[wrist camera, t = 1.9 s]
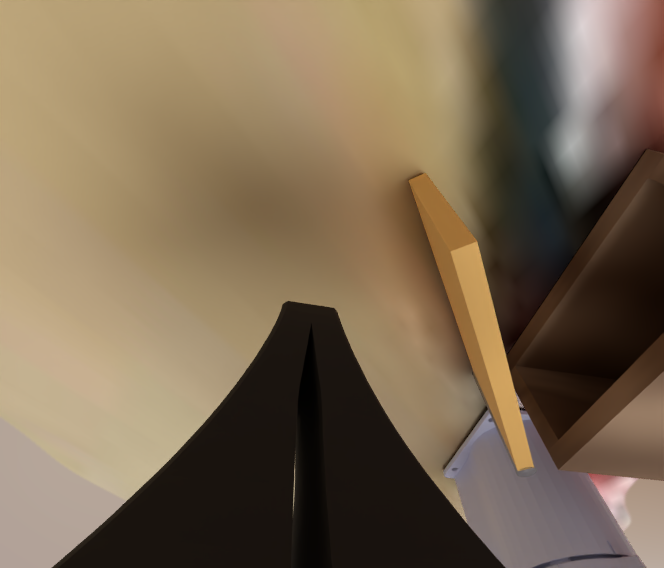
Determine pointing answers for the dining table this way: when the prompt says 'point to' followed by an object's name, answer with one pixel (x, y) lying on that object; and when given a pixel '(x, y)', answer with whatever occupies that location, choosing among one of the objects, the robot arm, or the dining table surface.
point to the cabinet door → (474, 316)
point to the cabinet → (604, 342)
